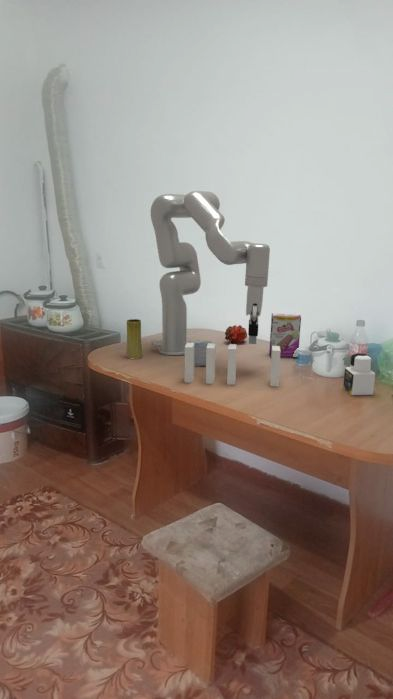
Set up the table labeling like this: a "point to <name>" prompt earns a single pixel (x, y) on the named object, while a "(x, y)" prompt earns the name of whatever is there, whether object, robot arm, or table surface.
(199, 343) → the medicine box
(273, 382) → the domino
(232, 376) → the domino
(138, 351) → the vase
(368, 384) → the medicine bottle
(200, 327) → the table surface
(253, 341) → the domino
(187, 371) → the domino
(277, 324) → the candy bar box
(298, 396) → the table surface
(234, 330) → the dragon fruit
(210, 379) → the domino
